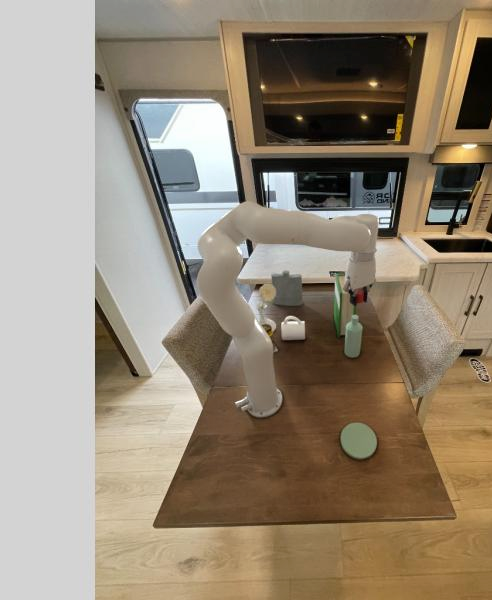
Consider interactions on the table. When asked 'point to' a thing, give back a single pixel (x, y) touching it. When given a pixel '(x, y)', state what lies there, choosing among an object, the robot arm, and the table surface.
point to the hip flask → (287, 289)
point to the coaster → (358, 440)
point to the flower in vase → (267, 295)
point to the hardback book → (342, 305)
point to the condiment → (270, 335)
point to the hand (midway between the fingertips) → (358, 302)
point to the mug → (293, 329)
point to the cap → (360, 296)
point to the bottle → (353, 337)
